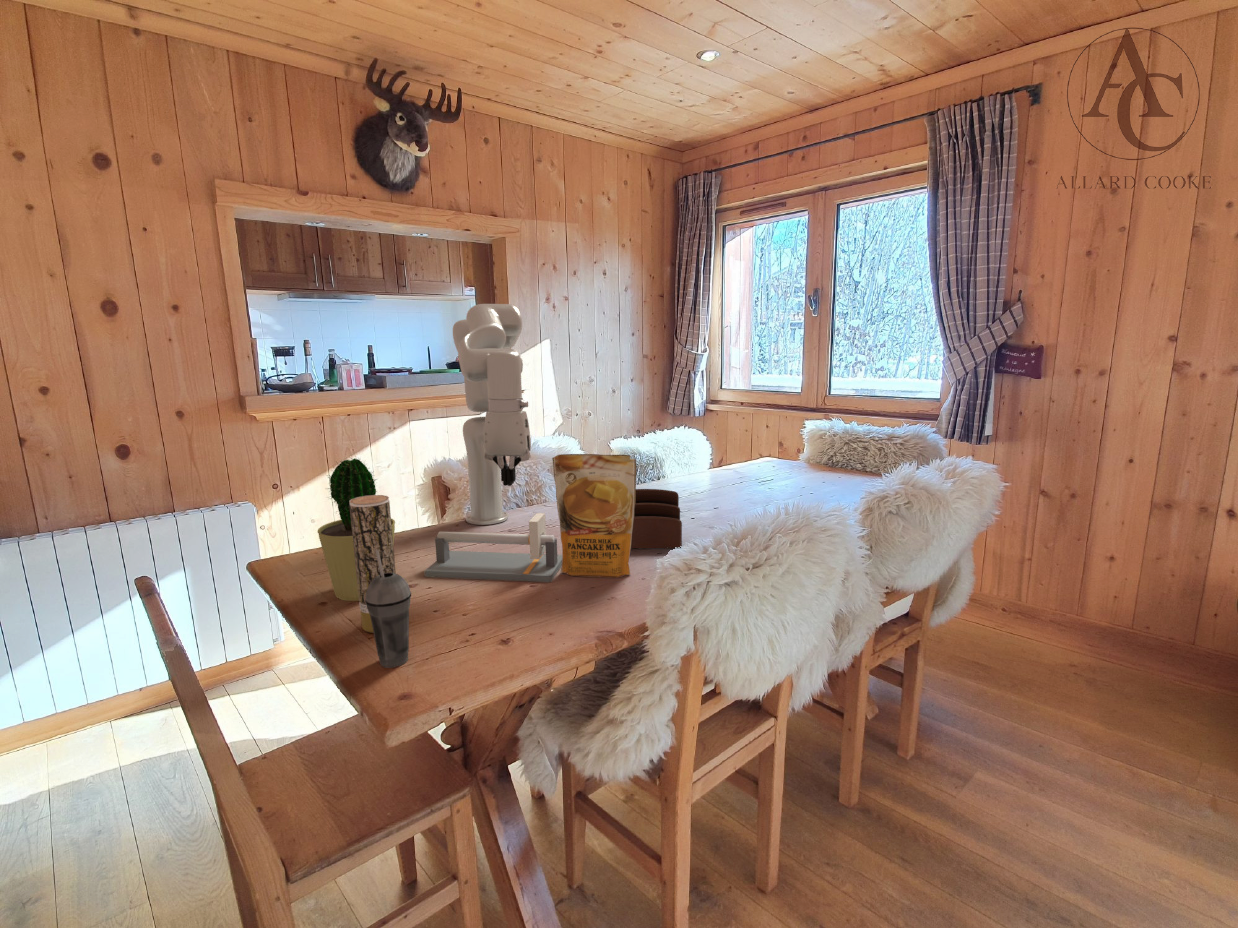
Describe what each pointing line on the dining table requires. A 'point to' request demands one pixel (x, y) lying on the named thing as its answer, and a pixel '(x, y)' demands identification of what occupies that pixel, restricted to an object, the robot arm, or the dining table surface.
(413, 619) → the dining table surface
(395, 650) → the beverage cup
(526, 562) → the pipe rig
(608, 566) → the pancake mix bag
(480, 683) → the dining table surface
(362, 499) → the bark wrapped tube
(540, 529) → the collar
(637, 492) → the letter holder
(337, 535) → the potted cactus
